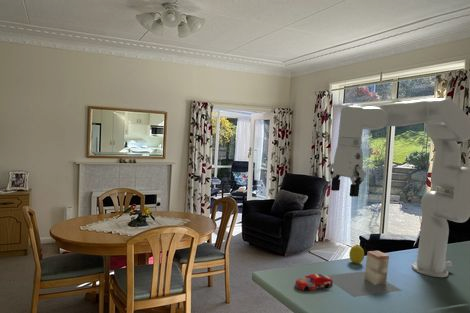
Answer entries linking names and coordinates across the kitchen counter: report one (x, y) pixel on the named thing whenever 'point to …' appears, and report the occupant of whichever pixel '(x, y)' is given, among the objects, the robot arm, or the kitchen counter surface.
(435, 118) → the robot arm
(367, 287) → the rubber mat
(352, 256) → the lemon
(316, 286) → the race car
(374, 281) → the wooden block
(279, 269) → the kitchen counter surface
